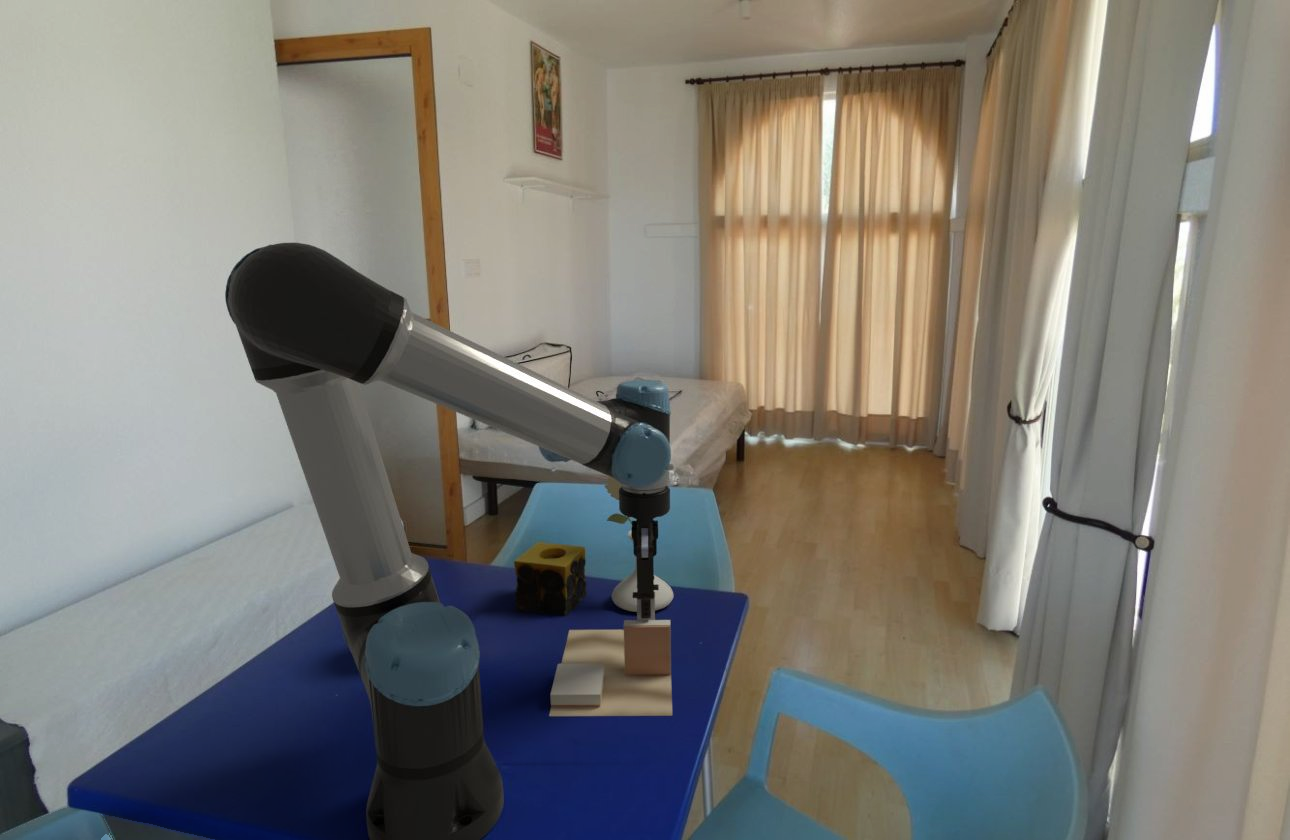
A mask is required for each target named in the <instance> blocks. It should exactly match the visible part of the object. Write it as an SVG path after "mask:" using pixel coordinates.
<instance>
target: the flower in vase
mask: <svg viewBox="0 0 1290 840" xmlns="http://www.w3.org/2000/svg"><path fill="white" fill-rule="evenodd" d="M604 488H605V489H606V490H607V493H608V494H610V497H611V498H614V499H615V500H616V501H619V489H620V488H621V486H620V485H619V484H618V481H617V480H616V479H614V478H612V477H610V476H608V478H607V481H606V483H605V485H604ZM606 521H607V522H613V523H617V524H621V525H623V524H625V523H626V522H627V521H629V523H630V524H631V525H632V521H633V520H632V519H631V517H627V516H625V515H623V514H622V513H621V514H620V513H617V512H616V513H613V514H611V515H610V516H609V517H608V518H607V519H606ZM627 536H628V537H629V539H630V540H631V541H632V543H633V539H632V529H631V530H629V531H628V532H627ZM654 585H658V588H659V590H654V592H655V612H656V611H659V610H661V609H665V607H667V606H669V604H670V603H671V602H672V601H673V599H674V591H673V589H672V588H671V586H670V585H669V584H667V582H665V581H664V580H663V579H661V578H660V577H658V576H657V575H655V574H654ZM633 592H637V557H636V556H635V567H634V570H633V572H632V573H631V574H630V575H629V576H627V577H626V578H624V579H622V580H621V581H620V582H619V583H618V584H617V585H616V586H615V587H614V589H613V590H612V593H611V600H612V601H613V603H614V604H615V605H616V606H617V607H618V608H619V609H622V610H624V611H628V612H632V613H633V612H635V613H637V598H633Z"/></svg>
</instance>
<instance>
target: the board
mask: <svg viewBox="0 0 1290 840" xmlns="http://www.w3.org/2000/svg"><path fill="white" fill-rule="evenodd" d="M565 643H566V644H565V647H564V651H563V655H562V659H561V663H560V664H604V666H605V675H604V683H603V691H602V699H601V705H600V707H552V705H551V704H550V711H549V714H548V716H549V717H667V716H668V717H672V716H673V694H672V693H673V692H672V691H673V690H672V689H673V688H672V673H671V674H670V675H625V663H624V629H569V630H568V634H567V638H566V642H565Z"/></svg>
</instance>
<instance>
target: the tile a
mask: <svg viewBox="0 0 1290 840" xmlns="http://www.w3.org/2000/svg"><path fill="white" fill-rule="evenodd" d="M604 675H605V666H604V664H561V663H557V666H556V671H555V674H554V679H553V683H552V687H551V691H550V694H549V695H550V706H551V705H552V707H600V705H601V699H602V691H603V683H604Z"/></svg>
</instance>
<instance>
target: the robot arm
mask: <svg viewBox="0 0 1290 840" xmlns="http://www.w3.org/2000/svg"><path fill="white" fill-rule="evenodd" d="M224 292H225V297H224V298H225V305H226V309H227V312H228V314H229V315H228V316H229V317H230V319H231V321H232V322H233V323H234V325H235V327H236V330H237V333H238V336H239V339H240V342H241V343H242V347H243V350H244V353H245V355H246V358H247V361H248V364H249V366H250V369H251V372H252V375H253V378H254V381H255V383H258V384H259V385H261V386H264V387H265V388H268V389H269V390H271V391H273V392H274V393H275V394H276V397H277V399H278V400H277V401H278V403H279V406H280V409H281V413H282V415H283V418H284V421H285V423H286V425H287V429H288V432H289V435H290V437H291V440H292V444H293V446H294V449H295V452H296V455H297V458H298V460H299V463H300V466H301V469H302V473H303V475H304V478H305V481H306V484H307V487H308V489H309V493H310V495H311V498H312V502H313V504H314V507H315V510H316V512H317V515H318V518H319V522H320V524H321V527H322V530H323V533H324V536H325V538H326V541H327V545H328V547H329V550H330V553H331V556H332V559H333V561H334V564H335V568H336V570H337V573H338V576H339V579H338V580H337V582H336V584H335V585H334V587H333V589H332V591H331V598H332V600H333V601H332V602H333V603H334V606H335V610H336V612H337V615H338V618H339V621H340V625H341V626H342V627H341V631H342V636H343V639H344V641H345V644H346V646H347V648H348V649H349V651H350V652H351V655H352V658H353V660H354V663H355V665H356V668H357V670H358V673H359V675H360V678H361V680H362V683H363V685H364V688H365V691H366V694H367V697H368V700H369V704H370V709H371V714H372V715H371V716H372V724H373V734H374V743H375V752H376V759H377V763H376V768H375V771H374V775H373V780H372V783H371V786H370V792H369V795H368V798H367V803H366V810H365V818H366V827H367V834H368V838H369V840H482V839H483V838H484V837H485V836H486V835H487V834H489V832H490V831H491V830H492V829H493V827H494V826H495V825H496V823H497V822H498V820H499V819H500V817H501V814H502V811H503V809H504V799H505V798H504V786H503V779H502V776H501V775H502V774H501V772H500V770H499V767H498V766H497V764H496V762H495V760H494V758H493V755H492V753H491V751H490V749H489V747H488V745H487V743H486V741H485V737H484V721H483V706H482V704H483V703H482V691H481V676H480V673H481V672H480V656H481V653H480V645H479V640H478V638H477V635H476V629H475V626H474V624H473V622H472V620H471V619H470V618H469V616H468V615H467V614H466V613H465V612H464V611H462V610H460V609H459V608H457V607H455V606H453V605H447V606H444V604H443V603H441V602H440V599H439V596H438V595H439V594H438V593H437V589H436V586H435V583H434V582H435V581H434V579H433V576H432V573H431V570H430V566H429V563H428V561H427V559H425V558H424V557H423V556H421V555H418V554H416V553H413V552H412V551H411V547H410V545H409V541H408V538H407V535H406V532H405V529H404V524H403V522H402V519H401V515H400V512H399V510H398V506H397V503H396V500H395V496H394V493H393V490H392V487H391V486H392V485H391V484H390V479H389V477H388V473H387V470H386V467H385V463H384V460H383V456H382V454H381V451H380V447H379V444H378V441H377V437H376V434H375V431H374V428H373V425H372V422H371V418H370V415H369V412H368V411H369V410H368V409H367V405H366V401H365V399H364V395H363V392H362V388H361V386H360V384H361V385H363V386H365V385H369V384H372V383H374V382H379V381H380V382H384V383H386V384H387V385H391V386H392V387H395V388H398V389H400V390H402V391H405V392H406V393H410V394H412V395H414V396H416V397H419V398H422V399H424V400H427V401H429V402H431V403H433V404H436V405H439V406H441V407H443V408H445V409H448V410H450V411H453V412H455V413H458V414H460V415H463V416H464V417H468V418H469V419H472V420H475V421H477V422H479V423H482V424H483V425H484V424H485V425H486V426H488V427H492V428H494V429H495V430H498V431H501V432H503V433H506V434H509V435H510V436H513V437H515V438H518V439H520V440H523V441H526V442H527V443H530V444H532V445H535V446H538V449H539V452H540V454H541V455H542V457H543V459H545V460H546V461H548V462H551V463H558V462H559V463H560V462H564V463H567V462H569V461H573V462H575V463H578V464H580V465H582V466H584V467H586V468H589V469H591V470H594V471H596V472H598V473H601V474H603V475H605V476H608V477H612V478H614V479H616V480H617V481H618V484H619V485H620V486H621V488H620V489H619V500H618V508H619V513H621V515H624V516H626V517H630V518H633V519H636V520H631V521H632V524H631V530H632V539H633V542H632V544H633V555H634V557H635V558H636V557H637V592H633V598H637V612H636V620H656V611H655V592H654V590H659V588H658V585H654V575H655V574H654V557H655V556H657V553H658V551H657V550H658V549H657V545H658V544H657V543H658V542H657V541H658V538H659V520H658V519H657V520H656V518H660V517H663V516H665V515H667V514H668V513H669V512H670V509H671V488H669V486H668V485H669V484H670V471H674V469H675V466H674V464H673V463H671V460H672V451H671V450H672V448H671V444H670V443H671V440H670V437H671V435H670V433H671V432H670V430H671V429H670V426H671V421H670V420H671V416H670V415H671V406H670V396H669V389H668V386H667V385H666V384H665V383H663V382H661V381H657V380H648V379H637V380H635V379H634V380H633V379H632V380H628V381H623V382H620V383H619V384H618V385H617V387H616V392H615V393H616V394H615V398H610V399H606V400H599V401H596V400H594V399H592V398H590V397H588V396H586V395H583V394H581V393H580V392H578V391H575V390H574V389H571V388H570V387H567V386H565V385H563V384H561V383H559V382H557V381H555V380H552V379H550V378H549V377H546V376H545V375H542V374H540V373H538V372H536V371H534V370H532V369H529V368H528V367H525V366H524V365H521V364H520V363H518V362H516V361H513V360H511V359H509V358H507V357H506V356H503V355H502V354H499V353H497V352H494V351H492V350H490V349H489V348H486V347H485V346H482V345H480V344H479V343H476V342H474V341H472V340H470V339H468V338H466V337H464V336H461V335H459V334H458V333H455V332H453V331H451V330H449V329H448V328H447V329H446V328H445V327H443V326H441V325H439V324H437V323H434V322H433V321H431V320H429V319H426V318H424V317H422V316H420V315H419V314H416V313H414V312H412V310H411V307H410V305H409V303H408V301H407V298H405V296H402V295H400V294H398V293H396V292H394V291H392V290H390V289H388V288H386V287H384V286H383V285H380V284H379V283H377V282H375V281H373V280H372V279H371V278H369V277H368V276H365V275H364V274H362V273H360V272H359V271H358V270H356V269H354V268H353V267H351V266H350V265H348V264H346V263H345V262H344V261H342V260H341V259H339V258H338V257H336V256H334V255H333V254H331V253H330V252H328V251H326V250H324V249H321V248H320V247H317V246H315V245H311V244H307V243H300V242H280V243H279V242H278V243H274V244H268V245H266V246H262V247H258V248H255V249H254V250H251V251H250V252H248V253H246V254H245V255H244V256H243V257H242V258H241V259H240V260H239V261H238V262H237V263H236V264H235V265H234V267H233V268H232V270H231V272H230V273H229V276H228V278H227V281H226V286H225V291H224ZM654 519H655V520H654Z"/></svg>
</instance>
